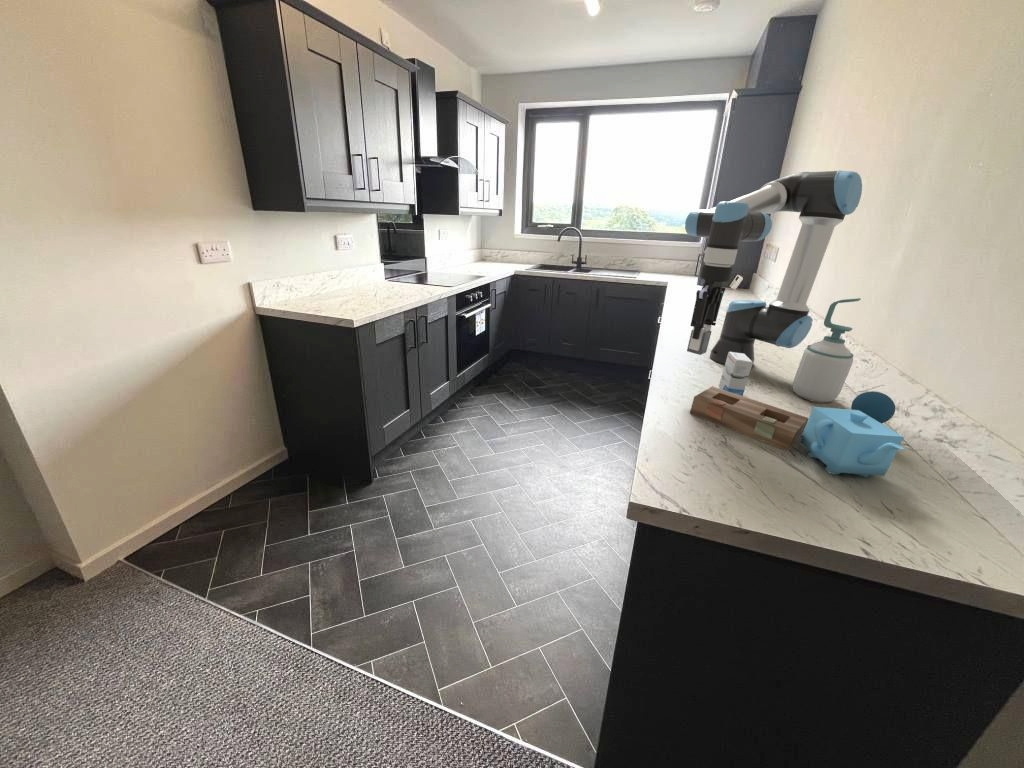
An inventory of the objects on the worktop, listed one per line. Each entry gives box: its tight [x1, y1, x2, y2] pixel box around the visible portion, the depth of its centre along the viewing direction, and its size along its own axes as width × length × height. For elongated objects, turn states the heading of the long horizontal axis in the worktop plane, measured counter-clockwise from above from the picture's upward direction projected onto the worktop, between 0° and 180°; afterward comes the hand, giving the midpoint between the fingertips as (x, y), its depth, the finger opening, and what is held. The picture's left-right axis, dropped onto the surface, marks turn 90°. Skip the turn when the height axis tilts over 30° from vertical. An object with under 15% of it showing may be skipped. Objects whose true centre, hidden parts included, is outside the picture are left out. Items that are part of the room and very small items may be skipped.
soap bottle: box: [792, 297, 861, 403], centre depth 123 cm, size 12×12×31 cm
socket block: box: [689, 386, 809, 452], centre depth 107 cm, size 12×24×5 cm, turn 43°
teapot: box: [799, 406, 905, 478], centre depth 88 cm, size 18×16×13 cm
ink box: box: [718, 352, 754, 396], centre depth 126 cm, size 8×5×12 cm, turn 168°
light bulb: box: [850, 390, 896, 424], centre depth 105 cm, size 8×8×12 cm
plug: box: [686, 324, 712, 356], centre depth 118 cm, size 4×4×8 cm
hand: (697, 347), depth 119 cm, fingers closed on plug, 4 cm apart
